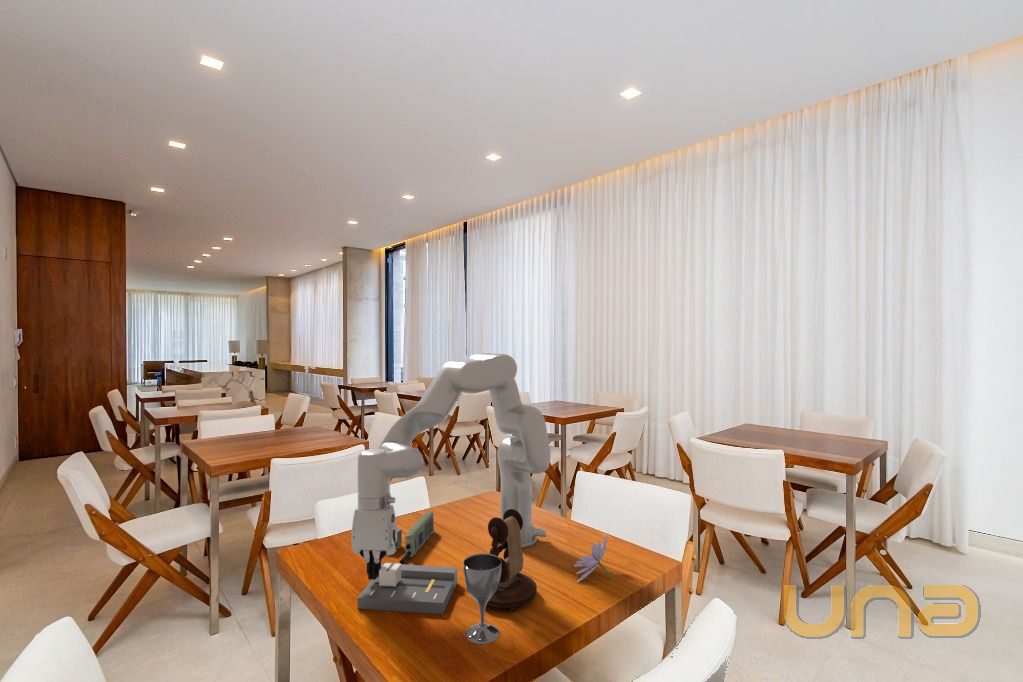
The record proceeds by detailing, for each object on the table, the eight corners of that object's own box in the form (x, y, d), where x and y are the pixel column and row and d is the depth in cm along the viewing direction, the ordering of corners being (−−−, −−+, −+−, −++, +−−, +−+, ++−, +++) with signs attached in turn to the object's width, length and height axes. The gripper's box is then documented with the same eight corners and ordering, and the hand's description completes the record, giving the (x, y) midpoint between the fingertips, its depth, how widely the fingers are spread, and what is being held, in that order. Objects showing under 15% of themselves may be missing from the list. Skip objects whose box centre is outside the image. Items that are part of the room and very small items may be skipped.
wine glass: (463, 623, 105) (463, 554, 105) (500, 621, 106) (500, 552, 106) (463, 646, 97) (463, 571, 97) (502, 644, 98) (502, 569, 98)
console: (457, 583, 123) (457, 567, 123) (443, 614, 109) (443, 596, 109) (380, 578, 125) (380, 563, 125) (357, 608, 111) (357, 591, 111)
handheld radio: (435, 531, 157) (407, 567, 132) (425, 531, 157) (396, 567, 132) (434, 511, 157) (406, 542, 132) (425, 510, 157) (395, 542, 132)
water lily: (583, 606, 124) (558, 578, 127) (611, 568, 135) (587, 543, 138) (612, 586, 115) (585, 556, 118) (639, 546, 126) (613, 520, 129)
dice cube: (391, 552, 141) (391, 535, 141) (377, 550, 142) (377, 533, 142) (401, 546, 145) (401, 529, 145) (387, 543, 147) (387, 527, 147)
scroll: (516, 621, 106) (516, 529, 106) (462, 602, 114) (462, 516, 114) (547, 591, 119) (547, 509, 119) (497, 576, 126) (497, 499, 126)
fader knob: (401, 578, 119) (401, 563, 119) (395, 586, 115) (395, 570, 115) (385, 577, 120) (385, 562, 120) (379, 585, 116) (379, 569, 116)
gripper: (408, 497, 121) (408, 571, 121) (351, 495, 123) (351, 568, 123) (398, 508, 113) (398, 586, 113) (337, 505, 115) (337, 582, 115)
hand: (374, 576), depth 118 cm, fingers closed
